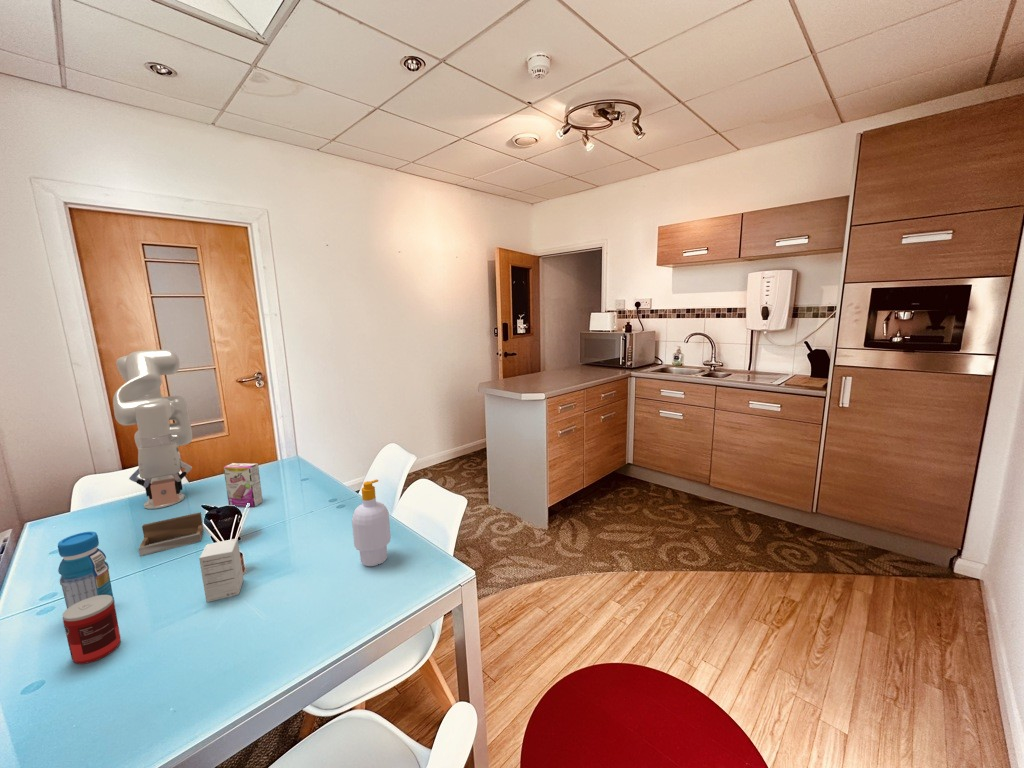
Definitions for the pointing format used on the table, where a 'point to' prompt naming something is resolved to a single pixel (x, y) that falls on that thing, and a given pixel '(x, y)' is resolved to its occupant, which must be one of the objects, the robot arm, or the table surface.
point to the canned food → (91, 628)
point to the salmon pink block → (164, 492)
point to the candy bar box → (243, 484)
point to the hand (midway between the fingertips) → (165, 494)
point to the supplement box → (221, 569)
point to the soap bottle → (371, 527)
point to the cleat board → (171, 533)
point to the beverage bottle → (83, 568)
